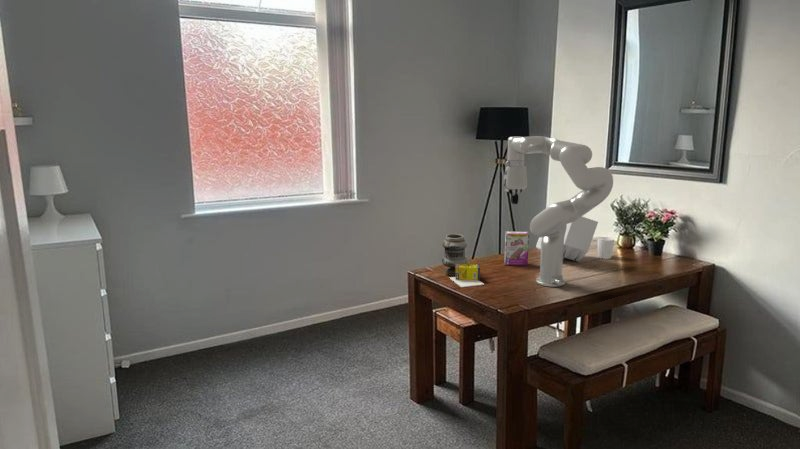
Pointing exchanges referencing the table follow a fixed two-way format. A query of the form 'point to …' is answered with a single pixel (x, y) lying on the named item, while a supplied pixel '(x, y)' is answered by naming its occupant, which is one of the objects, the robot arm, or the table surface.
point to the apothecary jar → (454, 252)
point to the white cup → (605, 247)
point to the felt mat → (466, 282)
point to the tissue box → (576, 238)
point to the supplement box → (467, 272)
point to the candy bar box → (516, 248)
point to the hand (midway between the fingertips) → (514, 203)
